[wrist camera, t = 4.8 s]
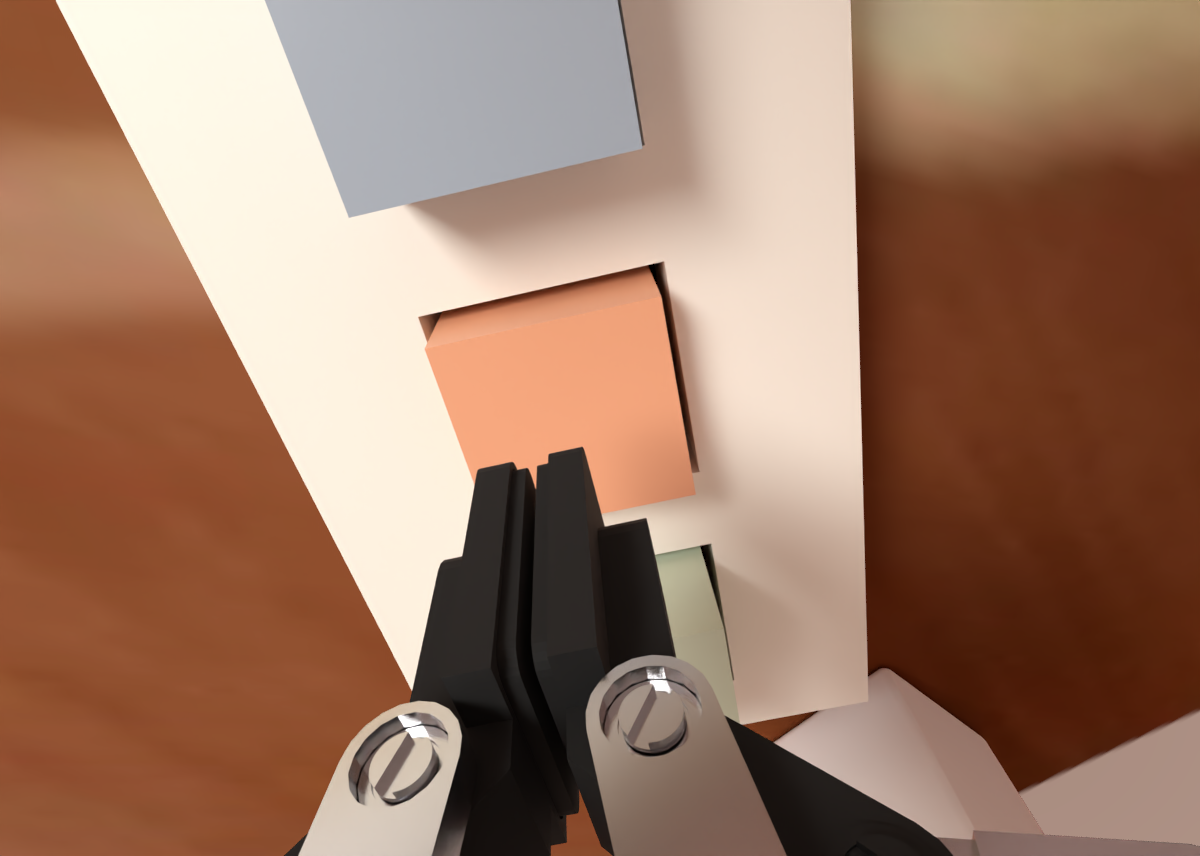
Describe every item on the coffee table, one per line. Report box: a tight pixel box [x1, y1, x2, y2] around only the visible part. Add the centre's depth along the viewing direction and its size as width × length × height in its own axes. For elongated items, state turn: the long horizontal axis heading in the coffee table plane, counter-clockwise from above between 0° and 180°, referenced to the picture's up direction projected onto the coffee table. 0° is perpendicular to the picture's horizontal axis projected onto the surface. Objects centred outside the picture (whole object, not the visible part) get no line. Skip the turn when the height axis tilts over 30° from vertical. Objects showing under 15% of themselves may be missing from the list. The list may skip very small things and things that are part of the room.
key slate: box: [265, 0, 643, 218], centre depth 12 cm, size 5×5×4 cm
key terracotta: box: [425, 265, 696, 514], centre depth 17 cm, size 5×5×4 cm
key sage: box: [655, 546, 740, 724], centre depth 19 cm, size 5×5×4 cm
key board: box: [56, 0, 868, 725], centre depth 17 cm, size 26×14×3 cm, turn 12°
